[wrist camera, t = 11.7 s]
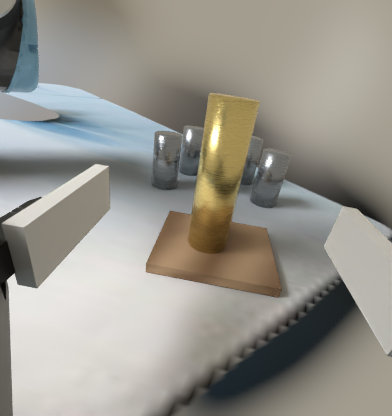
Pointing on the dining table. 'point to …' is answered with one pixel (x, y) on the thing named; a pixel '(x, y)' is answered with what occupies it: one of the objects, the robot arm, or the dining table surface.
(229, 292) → the dining table surface
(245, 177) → the spacers
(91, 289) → the dining table surface
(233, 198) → the cylinder
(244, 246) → the board
